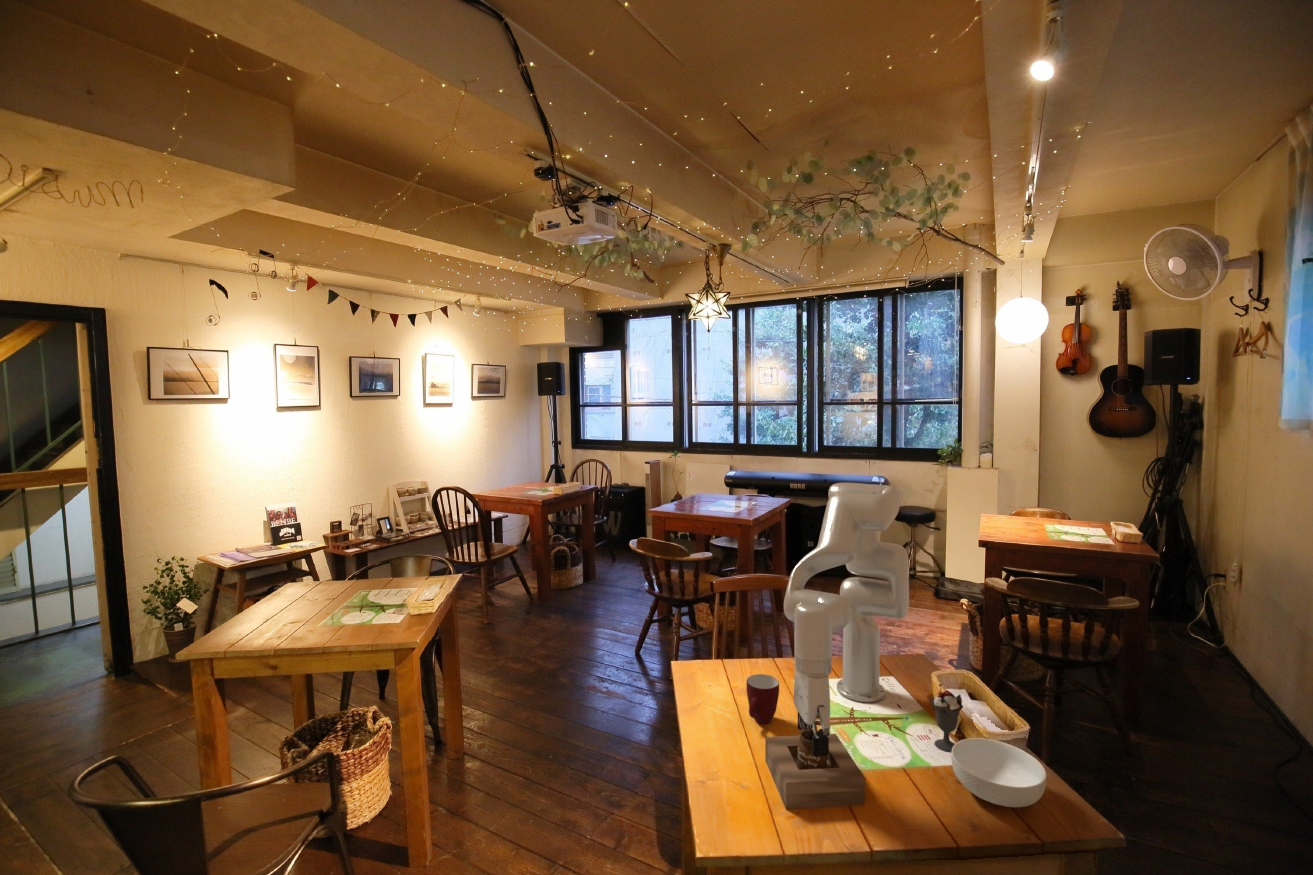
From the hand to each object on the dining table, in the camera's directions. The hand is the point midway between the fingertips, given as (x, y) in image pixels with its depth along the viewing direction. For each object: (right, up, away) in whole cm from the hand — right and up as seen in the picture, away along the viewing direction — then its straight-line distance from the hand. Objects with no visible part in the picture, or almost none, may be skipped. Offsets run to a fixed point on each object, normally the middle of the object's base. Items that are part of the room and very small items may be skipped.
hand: (812, 741), depth 127 cm
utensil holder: (0, -6, 0) cm, 6 cm away
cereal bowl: (+36, -9, -4) cm, 38 cm away
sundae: (+34, -8, +13) cm, 37 cm away
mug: (-7, -8, +24) cm, 26 cm away
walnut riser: (0, -9, +1) cm, 9 cm away
